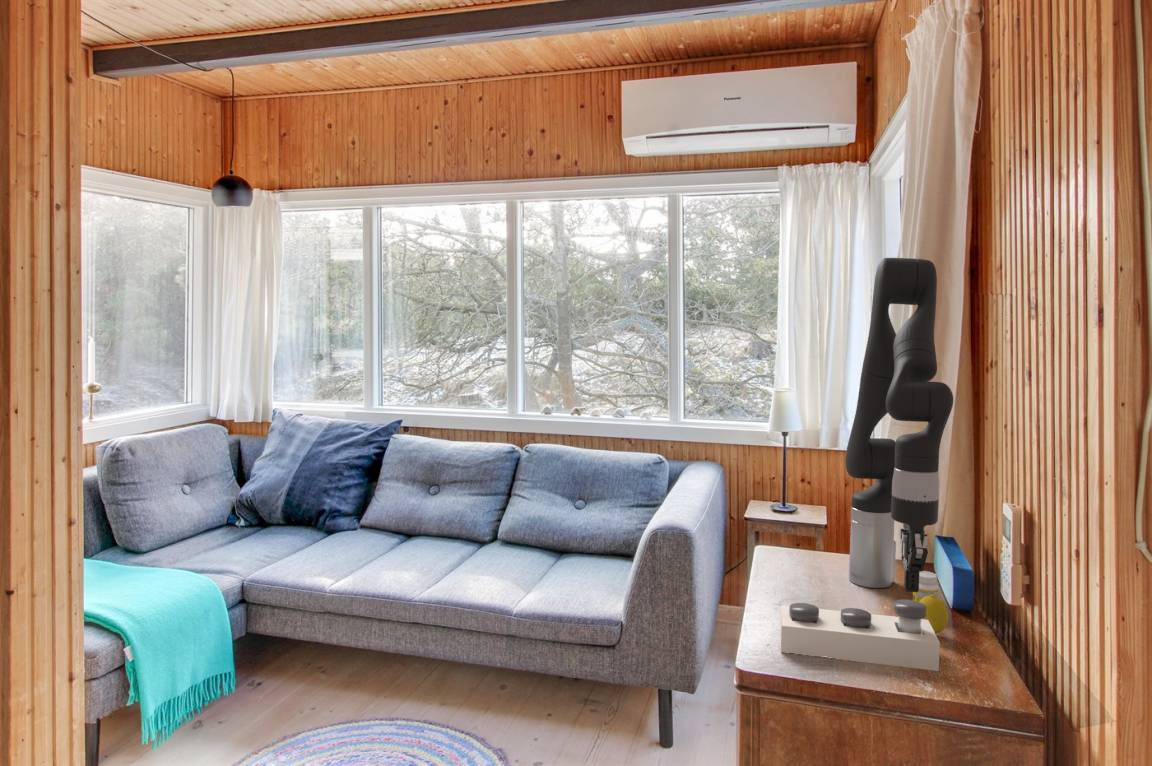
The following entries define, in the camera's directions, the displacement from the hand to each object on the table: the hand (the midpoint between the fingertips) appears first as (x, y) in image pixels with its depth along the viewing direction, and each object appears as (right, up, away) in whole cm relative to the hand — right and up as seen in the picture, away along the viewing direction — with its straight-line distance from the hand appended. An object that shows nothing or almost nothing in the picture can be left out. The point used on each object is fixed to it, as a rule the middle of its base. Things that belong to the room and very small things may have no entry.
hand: (911, 590), depth 130 cm
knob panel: (-9, -12, +3) cm, 15 cm away
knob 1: (-17, -10, +6) cm, 21 cm away
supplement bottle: (+12, -11, +20) cm, 25 cm away
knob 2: (0, -8, +1) cm, 8 cm away
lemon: (+8, -12, +9) cm, 17 cm away
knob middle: (-9, -11, +3) cm, 14 cm away
